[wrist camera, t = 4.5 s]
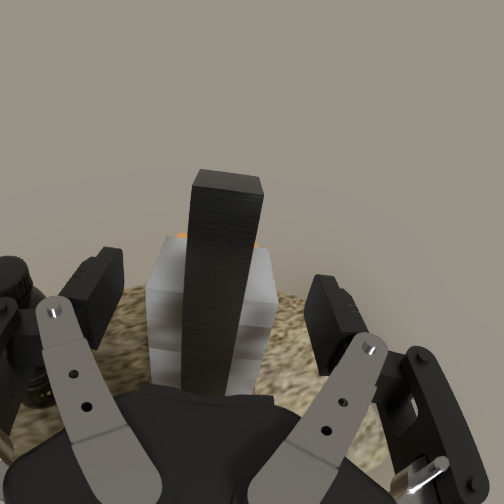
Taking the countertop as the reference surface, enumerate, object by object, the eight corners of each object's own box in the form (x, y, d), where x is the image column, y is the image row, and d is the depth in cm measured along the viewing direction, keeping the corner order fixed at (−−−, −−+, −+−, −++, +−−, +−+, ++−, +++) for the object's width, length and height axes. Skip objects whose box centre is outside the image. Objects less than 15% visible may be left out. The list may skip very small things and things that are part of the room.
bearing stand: (141, 438, 19) (118, 332, 14) (168, 315, 33) (171, 214, 27) (255, 449, 20) (297, 352, 15) (247, 324, 34) (268, 226, 28)
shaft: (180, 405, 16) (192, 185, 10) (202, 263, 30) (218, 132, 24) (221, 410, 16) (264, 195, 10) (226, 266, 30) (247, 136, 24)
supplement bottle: (2, 371, 20) (-43, 264, 14) (54, 345, 25) (26, 238, 19) (28, 424, 16) (-35, 316, 11) (87, 390, 22) (54, 278, 16)
